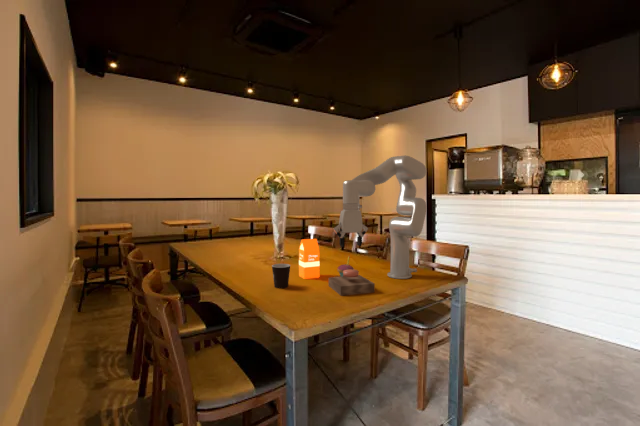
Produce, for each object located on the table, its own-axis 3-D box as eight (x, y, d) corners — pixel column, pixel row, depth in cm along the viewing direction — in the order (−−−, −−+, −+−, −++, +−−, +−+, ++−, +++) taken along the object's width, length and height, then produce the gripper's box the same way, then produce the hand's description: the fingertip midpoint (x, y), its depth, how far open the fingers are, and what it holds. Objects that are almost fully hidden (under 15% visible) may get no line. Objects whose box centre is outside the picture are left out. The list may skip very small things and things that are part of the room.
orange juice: (298, 275, 174) (298, 238, 173) (313, 274, 178) (313, 237, 177) (304, 279, 167) (304, 240, 166) (319, 277, 171) (319, 239, 170)
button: (354, 273, 154) (354, 268, 153) (361, 276, 147) (361, 272, 147) (340, 274, 151) (340, 269, 151) (346, 277, 145) (346, 273, 145)
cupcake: (353, 276, 173) (353, 253, 172) (353, 280, 164) (353, 257, 164) (337, 275, 174) (337, 253, 173) (336, 280, 165) (336, 256, 165)
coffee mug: (287, 289, 148) (287, 267, 148) (269, 288, 150) (269, 267, 150) (294, 282, 160) (294, 262, 159) (277, 281, 162) (277, 262, 161)
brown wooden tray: (359, 283, 159) (359, 275, 159) (374, 292, 144) (374, 283, 144) (328, 285, 155) (328, 277, 154) (340, 295, 139) (340, 286, 139)
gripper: (365, 207, 154) (364, 244, 155) (330, 207, 148) (330, 245, 149) (372, 207, 147) (371, 246, 147) (335, 208, 141) (335, 248, 142)
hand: (350, 245), depth 148 cm, fingers open, 7 cm apart
